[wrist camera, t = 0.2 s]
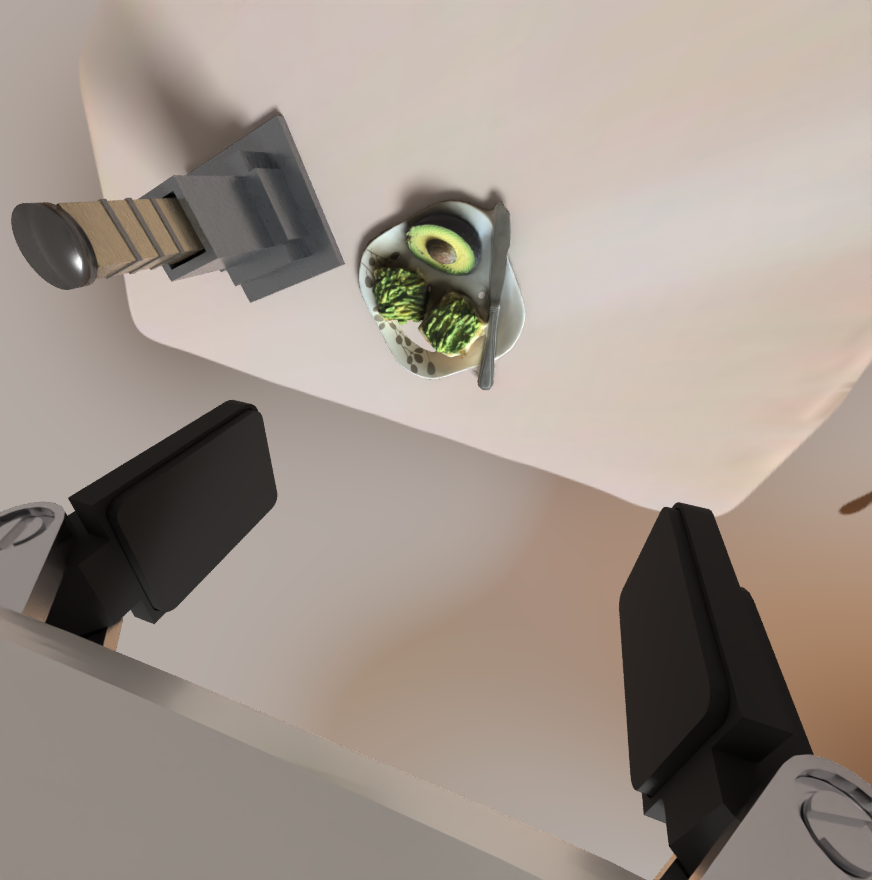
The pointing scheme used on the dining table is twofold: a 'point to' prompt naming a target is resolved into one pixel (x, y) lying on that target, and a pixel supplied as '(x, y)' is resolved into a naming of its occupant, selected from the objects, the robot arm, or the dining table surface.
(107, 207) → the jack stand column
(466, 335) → the salad plate
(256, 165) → the stand
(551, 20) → the dining table surface
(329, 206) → the dining table surface
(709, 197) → the dining table surface
